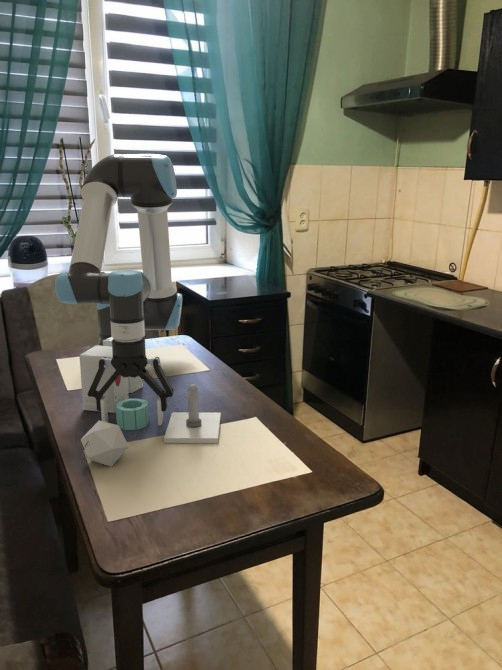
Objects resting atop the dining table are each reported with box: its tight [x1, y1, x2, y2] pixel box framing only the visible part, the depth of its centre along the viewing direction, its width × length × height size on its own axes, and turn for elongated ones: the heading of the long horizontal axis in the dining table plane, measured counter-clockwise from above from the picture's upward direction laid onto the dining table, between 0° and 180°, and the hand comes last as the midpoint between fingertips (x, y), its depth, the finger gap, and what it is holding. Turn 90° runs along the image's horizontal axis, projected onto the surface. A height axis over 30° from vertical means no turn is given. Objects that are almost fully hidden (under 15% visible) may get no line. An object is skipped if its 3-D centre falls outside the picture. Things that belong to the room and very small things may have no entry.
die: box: [80, 420, 130, 467], centre depth 112 cm, size 8×9×10 cm
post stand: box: [163, 383, 221, 444], centre depth 126 cm, size 14×12×11 cm
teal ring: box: [115, 398, 150, 431], centre depth 130 cm, size 7×7×5 cm
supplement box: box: [78, 345, 130, 414], centre depth 139 cm, size 9×9×15 cm
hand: (132, 423), depth 130 cm, fingers open, 13 cm apart
